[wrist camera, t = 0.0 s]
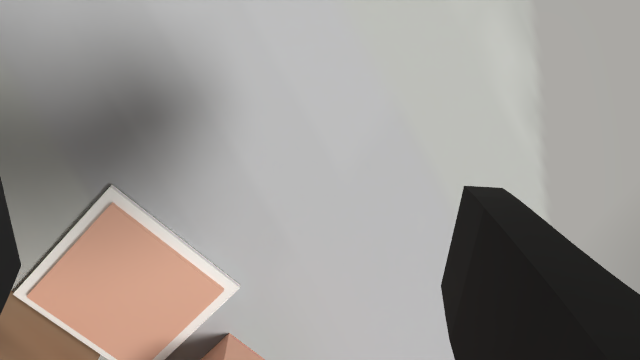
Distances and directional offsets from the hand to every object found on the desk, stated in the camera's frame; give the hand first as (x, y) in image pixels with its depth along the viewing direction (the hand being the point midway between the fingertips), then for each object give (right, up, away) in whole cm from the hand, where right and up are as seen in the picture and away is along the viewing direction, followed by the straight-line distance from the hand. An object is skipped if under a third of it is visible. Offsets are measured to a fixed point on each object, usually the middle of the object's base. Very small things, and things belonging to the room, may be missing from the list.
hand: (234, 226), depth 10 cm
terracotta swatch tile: (-6, -3, +12) cm, 14 cm away
